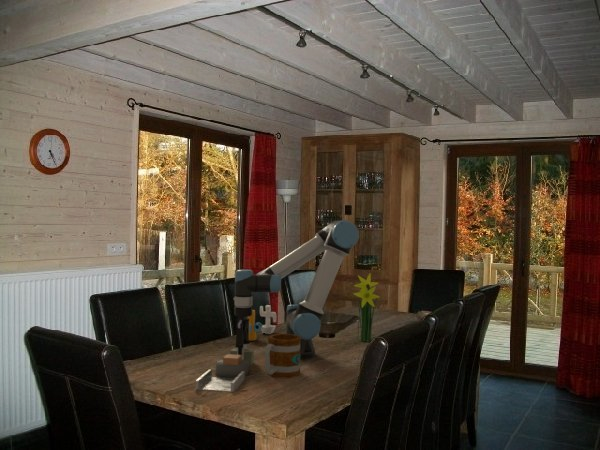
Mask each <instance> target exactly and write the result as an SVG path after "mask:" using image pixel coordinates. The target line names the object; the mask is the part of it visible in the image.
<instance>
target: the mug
mask: <svg viewBox="0 0 600 450" xmlns="http://www.w3.org/2000/svg"><path fill="white" fill-rule="evenodd" d="M267 340H268V344H267V345H266V346H265V350H264V360H265V361H264V369H265V370H264V371H265V373H266V374H267V375H268V376H270V377H273V378H282V379H289V378H295V377H298V376H299V375H300V374H301V359H300V357H301V352H300V342H301V336H297V335H294V334H286V333H277V334H269V336H268V337H267Z"/></svg>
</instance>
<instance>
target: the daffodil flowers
mask: <svg viewBox="0 0 600 450" xmlns="http://www.w3.org/2000/svg"><path fill="white" fill-rule="evenodd" d="M371 277H372V275H371V272H369V273H368V275H367V278H366V279H365V278H363V277H362V276H360V275H359V274H358V275H357V278H358V279H359V281H360V283H357V284H354V285H353V287H355V288H360V290H359V292H354V293H352V295H353V297H354V298H355V300H356V303H357V307H358V308H357V309H358V321H359V322H358V325H357V335H359V333H360V342H364V343H367V344H368V343H369V342H371V341H372V329H373V319H374V313H375V307H376V303H377V301H378V299H379V298H381V294H379V295H377V294H376V292H377V291H378V290H379V288H377V286H376V285H378V284H379V282H376V281H371V279H372V278H371ZM376 288H377V289H376ZM357 297H359V298H361V300H360V299H359V298H357ZM373 299H375V300H374V301H373ZM359 330H360V331H359ZM356 339H357V340H359V337H357V338H356Z"/></svg>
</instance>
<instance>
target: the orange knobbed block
mask: <svg viewBox="0 0 600 450" xmlns="http://www.w3.org/2000/svg"><path fill="white" fill-rule="evenodd" d="M248 319H249V341H248V342H250V341H251V342H254V341H257V333H259V332H260V331H261V328H262V325H263V324H262V323H261V322H260V321H258V322H256V310H255V309H252V315H251V316H248ZM256 326H258V328H256ZM260 326H261V327H260Z"/></svg>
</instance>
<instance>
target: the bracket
mask: <svg viewBox="0 0 600 450" xmlns="http://www.w3.org/2000/svg"><path fill="white" fill-rule="evenodd" d="M212 370H213V369H210V368H209V369H208V370H207V371H205V372H204V373H203V374H202V375H200V376H199V377H198V378H197V379H195V384H194V386H195V391H207V392H209V391H210V392H223V393H225V392H227V393H229V392H231V393H234V392H235V391H236V390H237V389H238V388H239V387H240V386H241V385H242V383H243V382H244V381H245V377H246V376H245V371H242V372H241V373H240V374H239V375H238V376H237V377H236V378H223V377H219V376H213V375H212V372H213V371H212Z"/></svg>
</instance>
